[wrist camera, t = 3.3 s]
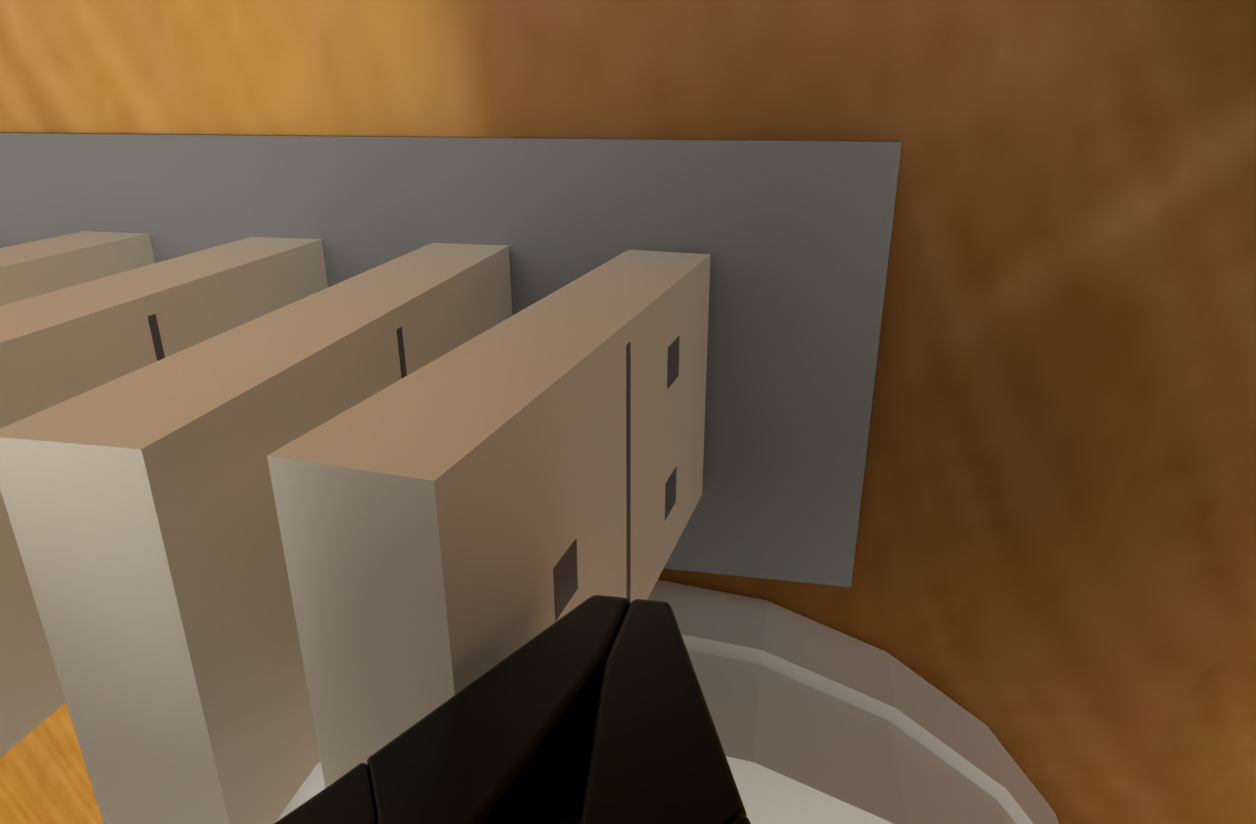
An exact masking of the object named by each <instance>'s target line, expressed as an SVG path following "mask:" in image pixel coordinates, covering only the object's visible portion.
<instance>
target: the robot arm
mask: <svg viewBox="0 0 1256 824" xmlns="http://www.w3.org/2000/svg"><path fill="white" fill-rule="evenodd" d="M367 766H368V767H367ZM274 824H751V823H750V820H749V819H748V818H747V814H746V810H745V807H744V805H743V802H742V799H741V797H740V794H739V791H738V788H737V786H736V783H735V780H734V777H733V775H732V772H731V769H730V766H729V764H728V761H727V758H726V755H725V753H724V750H723V747H722V744H721V742H720V739H719V736H718V733H717V731H716V728H715V725H714V723H713V720H712V717H711V714H710V712H709V709H708V706H707V703H706V701H705V698H704V695H703V692H702V690H701V687H700V684H699V681H698V679H697V676H696V673H695V670H694V668H693V665H692V662H691V660H690V657H689V654H688V651H687V649H686V646H685V643H684V640H683V638H682V635H681V632H680V629H679V627H678V624H677V621H676V618H675V616H674V613H673V610H672V608H671V606H670V604H669V603H667V602H665V601H655V600H644V599H635V600H633V601H632V602H631V603H630V601H629V600H628V599H627V598H623V597H613V596H603V595H593V596H591V597H590V598H588V599H587V600H585V601H584V602H582V603H581V604H580V605H578V606H577V607H576V608H574V609H573V610H571V611H570V612H569V613H567V614H566V615H565V616H563V617H562V618H560V619H559V620H558V621H556V622H555V623H553V624H552V625H551V626H549V627H548V628H547V629H545V630H544V631H542V632H541V633H540V634H538V635H537V636H536V637H534V638H533V639H531V640H530V641H529V642H527V643H526V644H525V645H523V646H522V647H520V648H519V649H518V650H516V651H515V652H513V653H512V654H511V655H509V656H508V657H507V658H505V659H504V660H502V661H501V662H500V663H498V664H497V665H496V666H494V667H493V668H491V669H490V670H489V671H487V672H486V673H484V674H483V675H482V676H480V677H479V678H478V679H476V680H475V681H473V682H472V683H471V684H469V685H468V686H467V687H465V688H464V689H462V690H461V691H460V692H458V693H457V694H455V695H454V696H453V697H451V698H450V699H449V700H447V701H446V702H444V703H443V704H442V705H440V706H439V707H438V708H436V709H435V710H433V711H432V712H431V713H429V714H428V715H427V716H425V717H424V718H422V719H421V720H420V721H418V722H417V723H415V724H414V725H413V726H411V727H410V728H409V729H407V730H406V731H404V732H403V733H402V734H400V735H399V736H398V737H396V738H395V739H393V740H392V741H391V742H389V743H388V744H386V745H385V746H384V747H382V748H381V749H380V750H378V751H377V752H375V753H374V754H373V755H371V756H370V757H369V758H368V759H367V764H365V763H360V764H358V765H357V766H356V767H354V768H353V769H351V770H350V771H349V772H347V773H346V774H345V775H343V776H342V777H340V778H339V779H338V780H336V781H335V782H334V783H332V784H331V785H329V786H328V787H326V788H325V789H324V790H322V791H321V792H319V793H318V794H316V795H315V796H313V797H312V798H311V799H309V800H308V801H306V802H305V803H303V804H302V805H300V806H299V807H297V808H296V809H295V810H293V811H292V812H290V813H289V814H287V815H286V816H284V817H283V818H281V819H280V820H279V821H277V822H275V823H274Z"/></svg>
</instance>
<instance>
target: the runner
mask: <svg viewBox="0 0 1256 824" xmlns="http://www.w3.org/2000/svg"><path fill="white" fill-rule="evenodd" d="M901 146H902V142H900V141H801V140H703V139H604V138H505V137H407V136H308V135H209V134H111V133H12V132H0V248H4V247H9V246H14V245H19V244H23V243H28V242H33V241H38V240H43V239H48V238H53V237H58V236H63V235H68V234H73V233H77V232H82V231H94V232H123V233H149V235H150V240H151V244H152V249H153V254H154V259H155V263H158V262H162V261H165V260H169V259H173V258H176V257H180V256H183V255H187V254H191V253H194V252H198V251H201V250H205V249H209V248H212V247H216V246H220V245H223V244H227V243H230V242H234V241H238V240H241V239H245V238H248V237H272V238H302V239H322V246H323V253H324V260H325V268H326V275H327V283H328V287H331V286H333V285H335V284H338V283H340V282H342V281H345V280H347V279H349V278H352V277H354V276H356V275H359V274H361V273H363V272H366V271H368V270H370V269H373V268H375V267H377V266H379V265H382V264H384V263H386V262H389V261H391V260H393V259H396V258H398V257H400V256H403V255H405V254H407V253H410V252H412V251H414V250H417V249H419V248H421V247H424V246H426V245H428V244H431V243H451V244H480V245H509V261H510V279H511V298H512V316H513V315H515V314H516V313H518V312H520V311H522V310H523V309H525V308H527V307H529V306H530V305H532V304H534V303H536V302H537V301H539V300H541V299H543V298H544V297H546V296H548V295H550V294H551V293H553V292H555V291H557V290H559V289H560V288H562V287H564V286H566V285H567V284H569V283H571V282H573V281H574V280H576V279H578V278H580V277H581V276H583V275H585V274H587V273H588V272H590V271H592V270H594V269H595V268H597V267H599V266H601V265H602V264H604V263H606V262H608V261H609V260H611V259H613V258H615V257H616V256H618V255H620V254H622V253H623V252H625V251H627V250H646V251H663V252H681V253H698V254H711V259H710V287H709V315H708V343H707V371H706V399H705V428H704V456H703V484H702V496H701V498H700V500H699V502H698V504H697V505H696V507H695V509H694V511H693V513H692V515H691V517H690V519H689V521H688V523H687V525H686V527H685V528H684V530H683V532H682V534H681V536H680V538H679V540H678V542H677V544H676V546H675V548H674V549H673V551H672V553H671V555H670V557H669V559H668V561H667V563H666V565H665V567H664V569H673V570H683V571H693V572H703V573H713V574H723V575H733V576H742V577H752V578H762V579H772V580H782V581H792V582H802V583H812V584H822V585H832V586H842V587H851V584H852V575H853V567H854V558H855V549H856V540H857V532H858V523H859V514H860V505H861V497H862V488H863V479H864V470H865V461H866V453H867V444H868V435H869V426H870V418H871V409H872V400H873V391H874V383H875V374H876V365H877V356H878V348H879V339H880V330H881V321H882V312H883V304H884V295H885V286H886V277H887V269H888V260H889V251H890V242H891V234H892V225H893V216H894V207H895V199H896V190H897V181H898V172H899V163H900V155H901Z"/></svg>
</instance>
